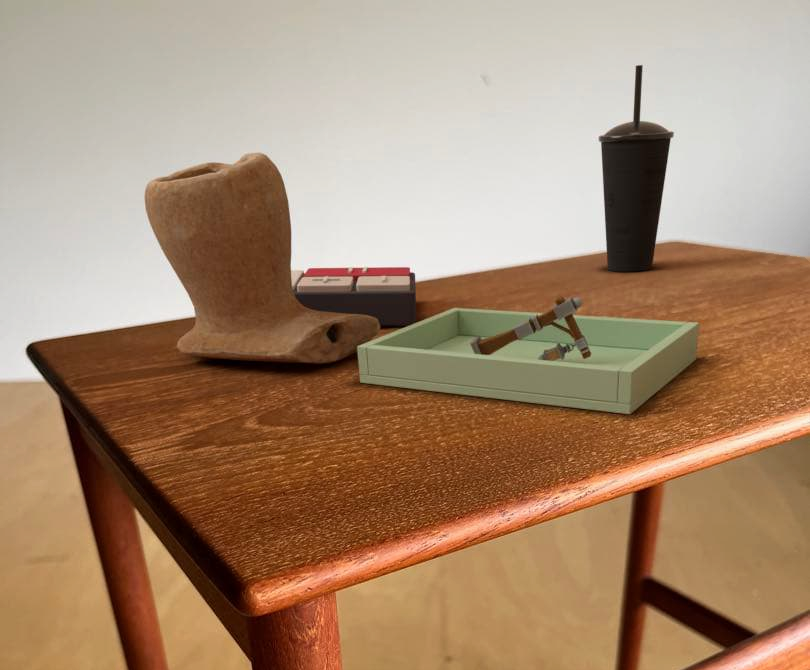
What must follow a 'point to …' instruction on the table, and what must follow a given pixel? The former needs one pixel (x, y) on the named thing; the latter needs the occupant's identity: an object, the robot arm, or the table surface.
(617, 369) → the tray
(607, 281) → the table surface
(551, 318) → the wooden post with brackets
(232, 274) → the boot-shaped pottery piece
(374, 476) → the table surface
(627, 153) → the drinking cup
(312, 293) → the dark box with panels
